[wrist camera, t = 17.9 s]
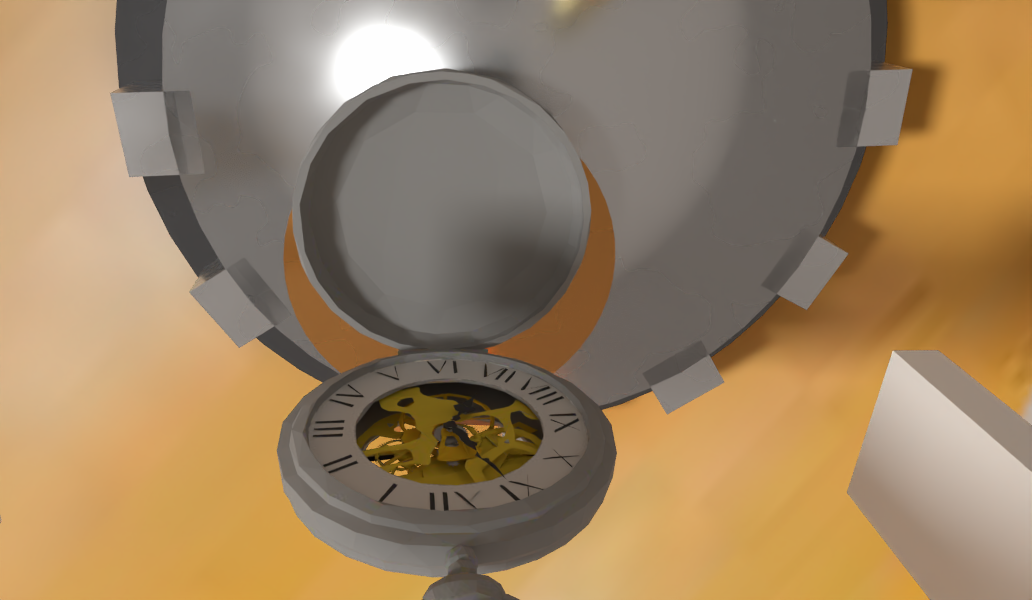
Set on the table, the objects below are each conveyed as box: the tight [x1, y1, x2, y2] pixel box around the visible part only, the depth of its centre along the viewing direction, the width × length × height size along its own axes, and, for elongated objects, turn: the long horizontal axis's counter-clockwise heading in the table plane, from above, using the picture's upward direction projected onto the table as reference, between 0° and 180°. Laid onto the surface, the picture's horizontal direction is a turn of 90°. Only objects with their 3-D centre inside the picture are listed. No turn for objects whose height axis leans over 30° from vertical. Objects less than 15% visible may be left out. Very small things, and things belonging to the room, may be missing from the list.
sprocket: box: [110, 0, 913, 441], centre depth 15 cm, size 18×18×8 cm
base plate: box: [115, 0, 888, 426], centre depth 19 cm, size 19×19×1 cm
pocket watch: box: [277, 68, 617, 600], centre depth 14 cm, size 8×8×10 cm
